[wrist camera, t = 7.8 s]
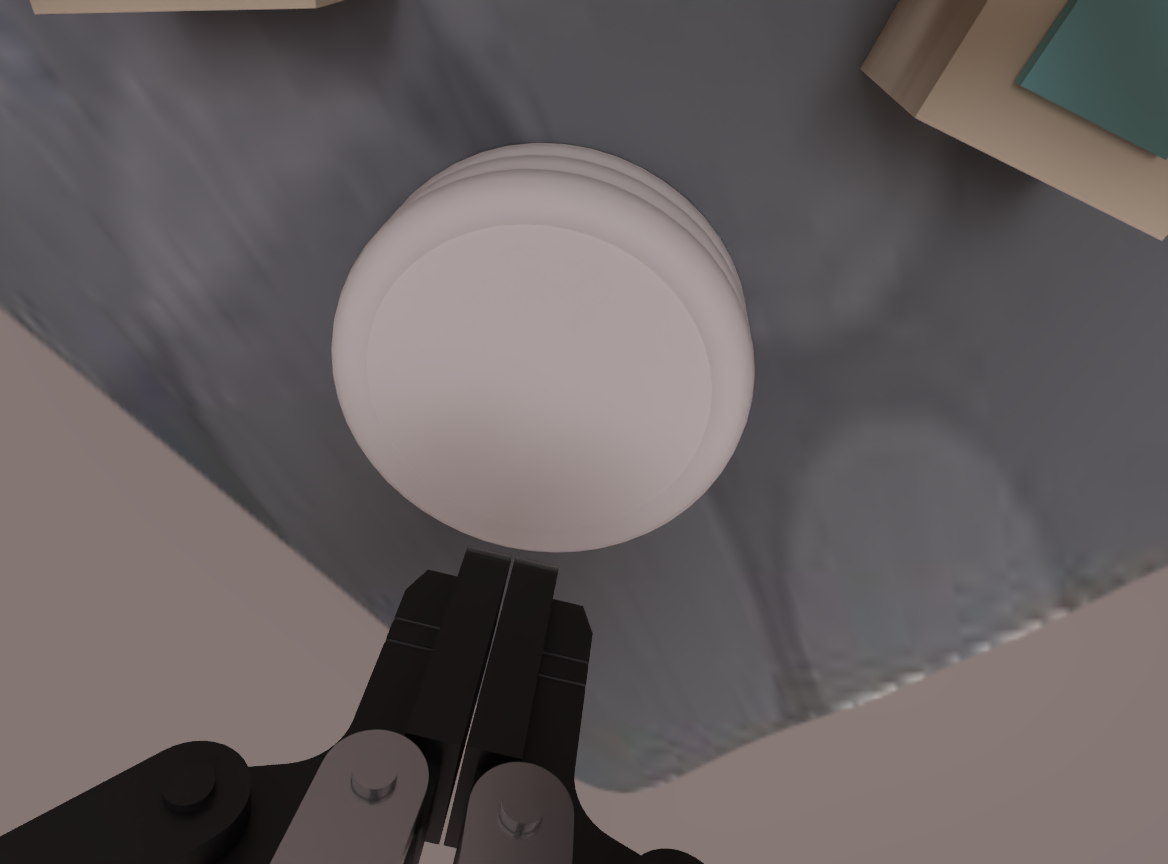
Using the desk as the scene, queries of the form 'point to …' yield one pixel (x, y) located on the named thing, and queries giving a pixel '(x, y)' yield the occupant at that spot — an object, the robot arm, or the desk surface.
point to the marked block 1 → (167, 5)
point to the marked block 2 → (1043, 91)
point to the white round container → (545, 349)
